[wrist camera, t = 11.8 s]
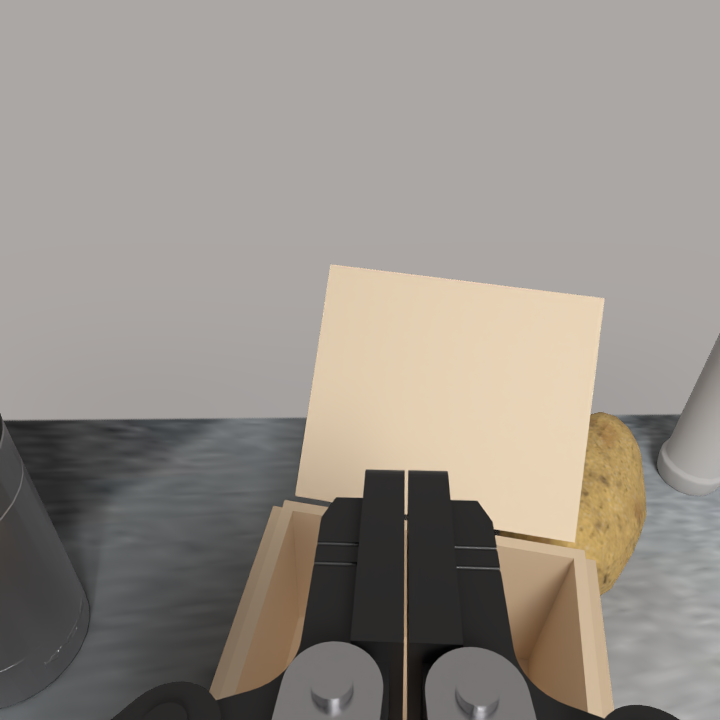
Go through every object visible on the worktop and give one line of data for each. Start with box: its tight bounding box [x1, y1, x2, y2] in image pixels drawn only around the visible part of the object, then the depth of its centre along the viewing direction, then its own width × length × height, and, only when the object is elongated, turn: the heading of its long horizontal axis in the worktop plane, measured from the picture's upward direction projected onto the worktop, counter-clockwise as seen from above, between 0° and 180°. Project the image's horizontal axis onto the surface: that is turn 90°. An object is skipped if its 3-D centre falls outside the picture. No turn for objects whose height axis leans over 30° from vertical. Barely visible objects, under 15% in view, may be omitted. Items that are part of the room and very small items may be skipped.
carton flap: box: [295, 265, 604, 543], centre depth 35 cm, size 15×13×1 cm
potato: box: [500, 412, 646, 595], centre depth 44 cm, size 10×14×10 cm
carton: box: [209, 500, 614, 720], centre depth 32 cm, size 17×14×12 cm
